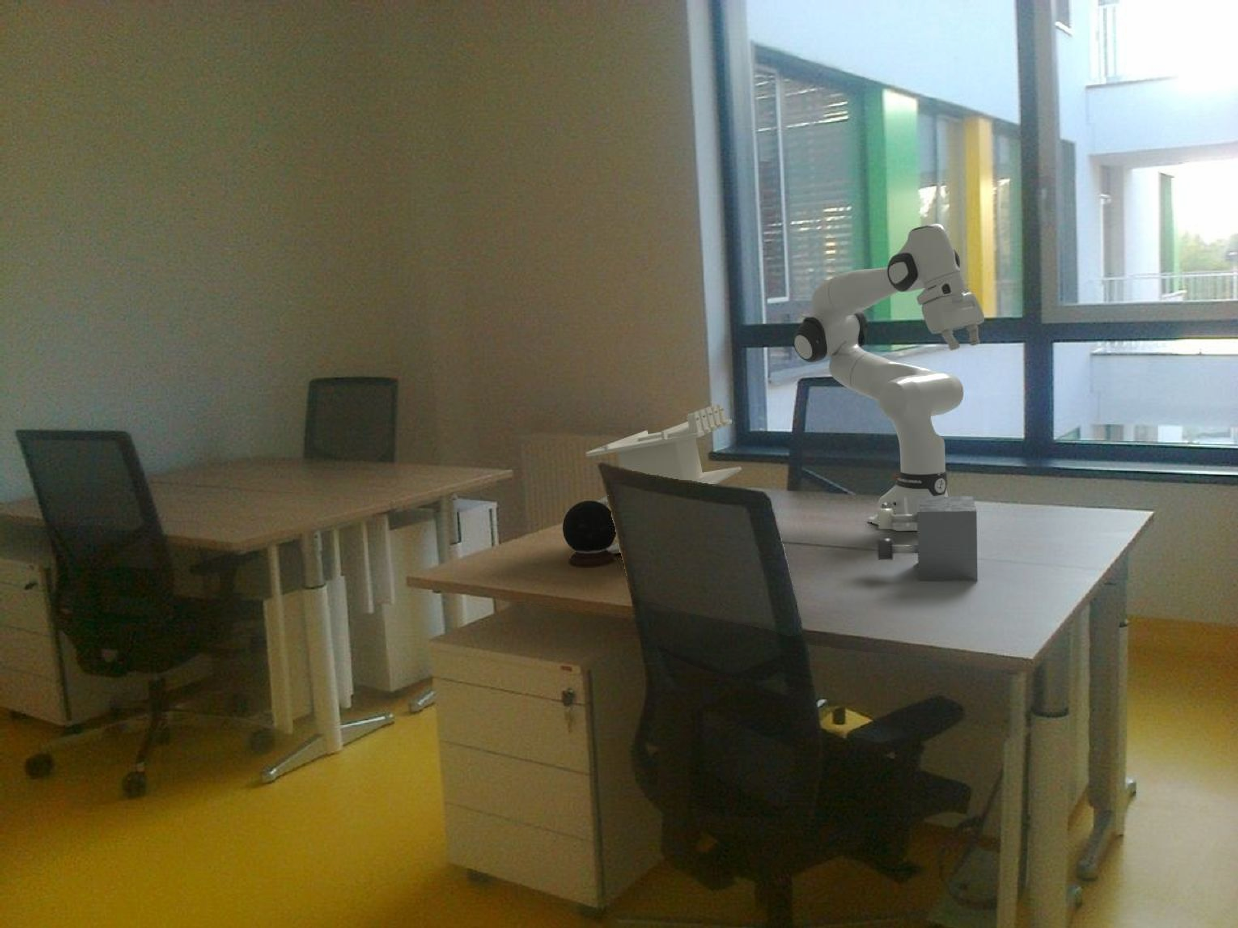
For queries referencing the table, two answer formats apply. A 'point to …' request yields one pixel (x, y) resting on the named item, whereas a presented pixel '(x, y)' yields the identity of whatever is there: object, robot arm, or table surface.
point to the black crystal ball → (589, 534)
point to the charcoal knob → (893, 549)
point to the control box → (947, 539)
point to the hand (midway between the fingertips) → (965, 347)
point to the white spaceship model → (670, 451)
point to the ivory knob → (893, 518)
